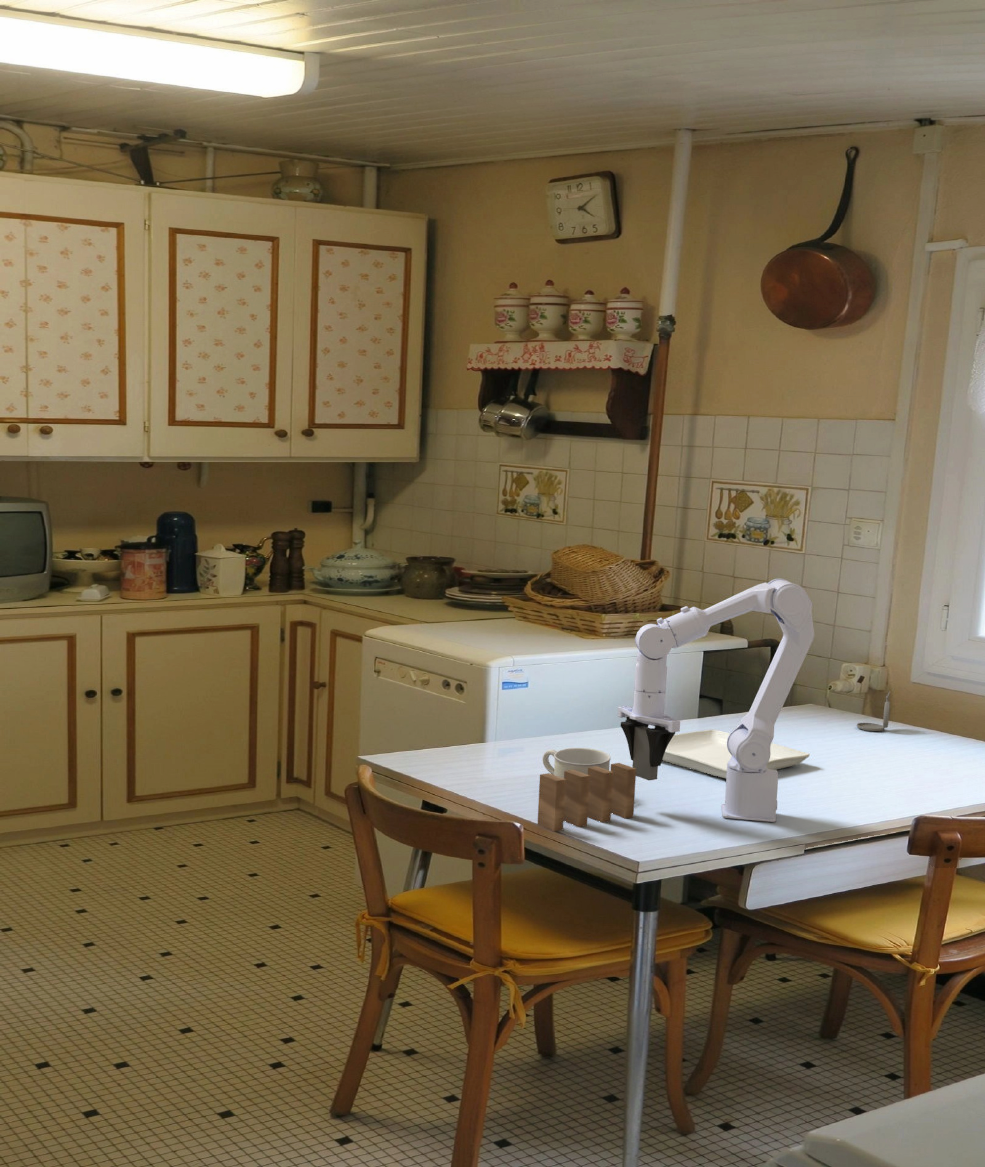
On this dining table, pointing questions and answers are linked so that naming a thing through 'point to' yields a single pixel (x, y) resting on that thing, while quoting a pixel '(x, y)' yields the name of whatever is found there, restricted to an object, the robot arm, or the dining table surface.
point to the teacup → (575, 760)
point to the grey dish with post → (876, 726)
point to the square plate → (719, 753)
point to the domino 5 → (643, 755)
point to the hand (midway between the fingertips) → (645, 762)
